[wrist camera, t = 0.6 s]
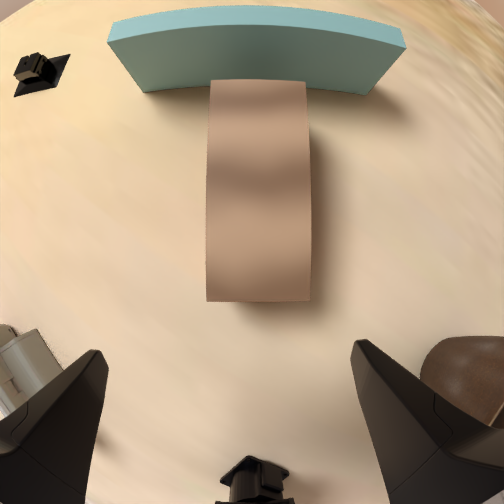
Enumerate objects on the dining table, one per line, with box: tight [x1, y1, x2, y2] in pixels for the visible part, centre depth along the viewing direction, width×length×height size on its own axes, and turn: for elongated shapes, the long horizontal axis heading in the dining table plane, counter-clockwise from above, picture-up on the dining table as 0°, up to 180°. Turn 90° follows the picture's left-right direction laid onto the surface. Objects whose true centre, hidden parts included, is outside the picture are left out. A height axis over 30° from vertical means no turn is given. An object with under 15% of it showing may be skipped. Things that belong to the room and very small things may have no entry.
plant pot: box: [420, 336, 504, 429], centre depth 20 cm, size 15×15×16 cm
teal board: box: [107, 5, 406, 95], centre depth 21 cm, size 8×24×10 cm, turn 90°
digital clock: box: [0, 324, 63, 417], centre depth 22 cm, size 16×9×11 cm, turn 23°
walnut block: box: [206, 79, 311, 302], centre depth 23 cm, size 16×7×8 cm, turn 0°
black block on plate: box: [13, 52, 70, 97], centre depth 24 cm, size 12×7×5 cm, turn 82°
